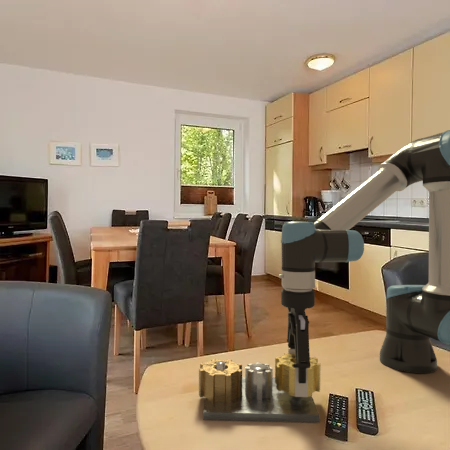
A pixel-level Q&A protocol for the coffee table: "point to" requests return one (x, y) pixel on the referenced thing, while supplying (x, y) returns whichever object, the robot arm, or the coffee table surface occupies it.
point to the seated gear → (220, 381)
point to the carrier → (262, 400)
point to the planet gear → (287, 374)
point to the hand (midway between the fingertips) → (297, 385)
